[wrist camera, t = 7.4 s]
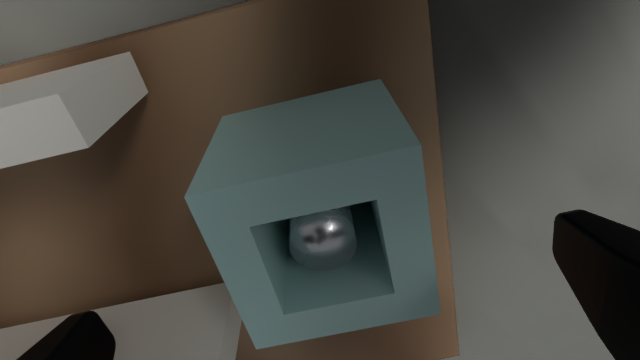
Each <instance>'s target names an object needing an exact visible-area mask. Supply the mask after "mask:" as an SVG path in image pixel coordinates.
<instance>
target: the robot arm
mask: <svg viewBox="0 0 640 360" xmlns="http://www.w3.org/2000/svg"><path fill="white" fill-rule="evenodd" d="M552 249H553V255H554V258H555V260H556V262H557V264H558V266H559V267H560V269H561V271H562V273H563V275H564V276H565V278H566V280H567V282H568V283H569V285H570V287H571V289H572V290H573V292H574V294H575V296H576V298H577V299H578V301H579V303H580V305H581V306H582V308H583V310H584V312H585V313H586V315H587V317H588V319H589V321H590V322H591V324H592V326H593V327H594V329H595V331H596V332H597V334H598V336H599V337H600V338H601V340H602V341H603V343H604V344H605V346H606V347H607V349H608V350H609V352H610V353H611V354H612V356H613V357H614V359H615V360H640V231H639V230H636V229H634V228H631V227H628V226H625V225H623V224H620V223H617V222H615V221H612V220H609V219H606V218H604V217H601V216H598V215H596V214H593V213H590V212H588V211H585V210H573V211H568V212H563V213H559V214H558V215H557V216H556V217H555V221H554V233H553V246H552ZM115 349H116V342H115V338H114V336H113V334H112V333H111V331H110V330H109V329H108V327H107V326H106V324H105V323H104V322H103V320H102V319H101V317H100V316H99V315H98V314H97V313H96V312H94V311H84V312H80V313H75V314H72V315H70V316H69V317H67V318H66V319H65V320H64V321H62V322H61V323H60V324H59V325H58V326H56V327H55V328H54V329H53V330H51V331H50V332H49V333H48V334H47V335H45V336H44V337H43V338H42V339H41V340H39V341H38V342H37V343H36V344H34V345H33V346H32V347H31V348H30V349H28V350H27V351H26V352H25V353H24V354H22V355H21V356H20V357H19V358H17V359H16V360H113V359H114V354H115Z"/></svg>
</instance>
